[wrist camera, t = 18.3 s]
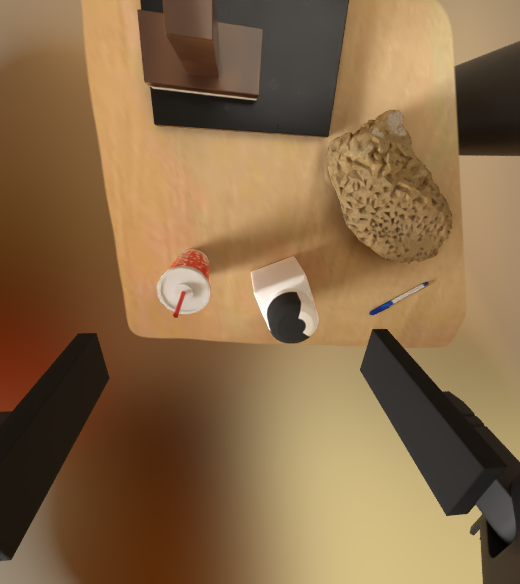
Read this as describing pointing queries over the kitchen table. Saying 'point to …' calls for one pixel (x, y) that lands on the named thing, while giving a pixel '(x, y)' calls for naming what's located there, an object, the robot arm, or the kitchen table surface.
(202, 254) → the beverage cup
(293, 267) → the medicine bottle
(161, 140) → the kitchen table surface
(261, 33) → the brown block
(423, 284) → the ballpoint pen
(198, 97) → the panel
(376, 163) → the sponge
